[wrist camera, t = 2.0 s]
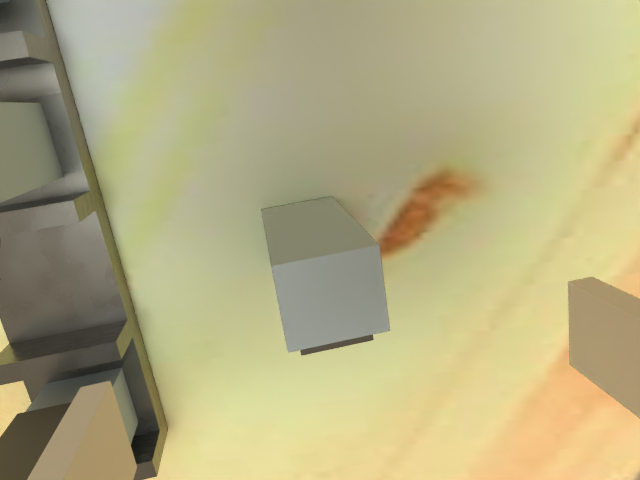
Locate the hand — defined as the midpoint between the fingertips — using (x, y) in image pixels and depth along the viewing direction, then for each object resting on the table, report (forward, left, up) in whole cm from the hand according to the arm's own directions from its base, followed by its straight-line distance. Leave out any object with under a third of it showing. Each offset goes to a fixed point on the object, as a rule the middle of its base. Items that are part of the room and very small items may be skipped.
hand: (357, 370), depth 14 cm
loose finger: (0, 0, -15) cm, 15 cm away
